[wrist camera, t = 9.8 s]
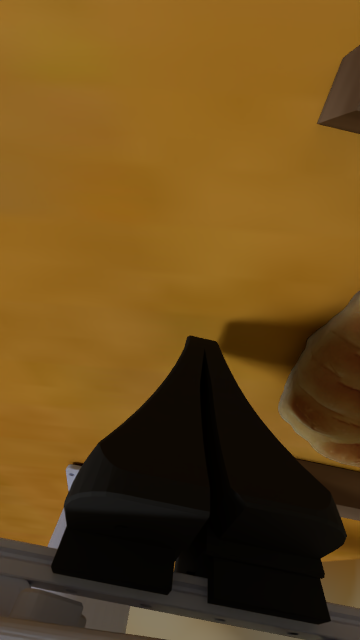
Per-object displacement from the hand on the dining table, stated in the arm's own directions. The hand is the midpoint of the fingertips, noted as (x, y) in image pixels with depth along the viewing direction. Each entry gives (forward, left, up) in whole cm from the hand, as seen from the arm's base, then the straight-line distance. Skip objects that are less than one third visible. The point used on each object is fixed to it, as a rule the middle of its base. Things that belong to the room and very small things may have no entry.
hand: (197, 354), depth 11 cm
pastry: (0, -8, -2) cm, 8 cm away
